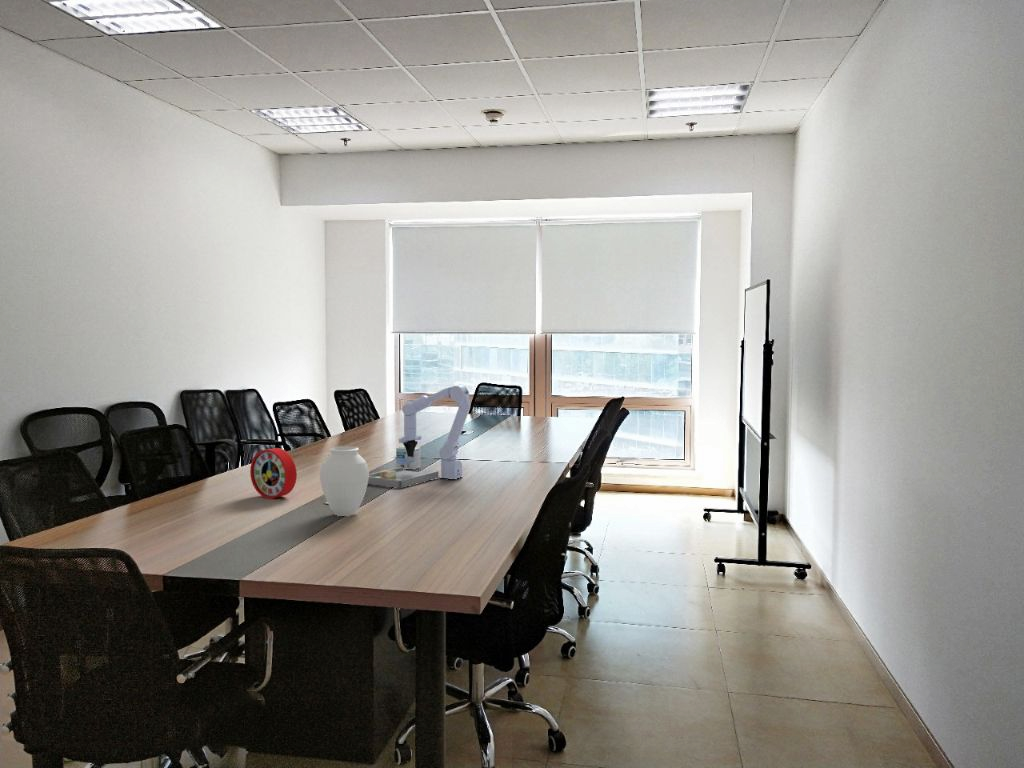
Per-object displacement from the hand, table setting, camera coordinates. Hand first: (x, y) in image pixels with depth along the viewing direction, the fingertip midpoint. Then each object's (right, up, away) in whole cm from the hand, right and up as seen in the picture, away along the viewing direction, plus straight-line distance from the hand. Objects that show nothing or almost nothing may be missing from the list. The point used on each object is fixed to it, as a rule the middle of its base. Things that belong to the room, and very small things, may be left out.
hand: (410, 456), depth 364 cm
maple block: (-7, -9, -20) cm, 23 cm away
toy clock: (-50, -13, -47) cm, 70 cm away
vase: (-14, -15, -77) cm, 80 cm away
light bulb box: (-4, -8, +21) cm, 23 cm away
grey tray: (-3, -10, -12) cm, 16 cm away
